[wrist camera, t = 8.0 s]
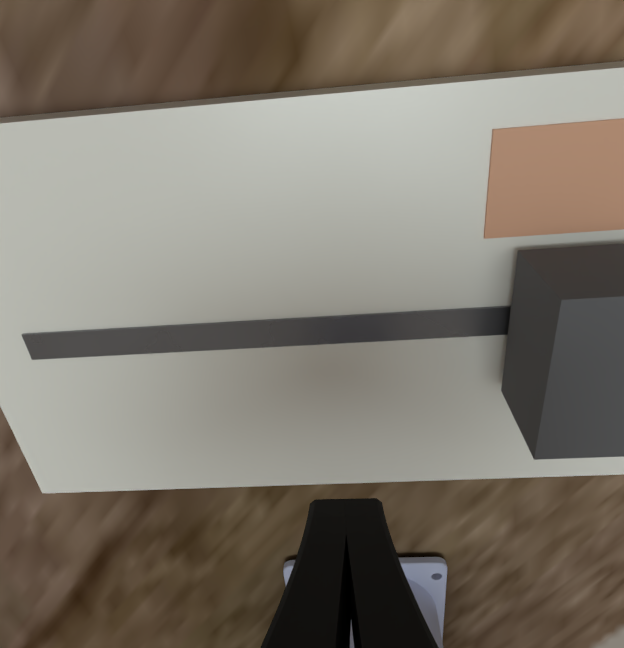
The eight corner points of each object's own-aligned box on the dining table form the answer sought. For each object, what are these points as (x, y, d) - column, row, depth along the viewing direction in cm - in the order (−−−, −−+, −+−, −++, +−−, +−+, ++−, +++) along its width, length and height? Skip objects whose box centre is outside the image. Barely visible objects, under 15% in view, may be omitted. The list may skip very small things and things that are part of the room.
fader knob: (609, 385, 17) (664, 455, 14) (501, 390, 17) (533, 459, 14) (644, 241, 14) (721, 290, 11) (517, 250, 15) (561, 299, 12)
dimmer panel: (677, 435, 21) (710, 473, 19) (64, 458, 23) (41, 495, 21) (812, 44, 14) (885, 44, 12) (-80, 124, 16) (-134, 135, 14)
